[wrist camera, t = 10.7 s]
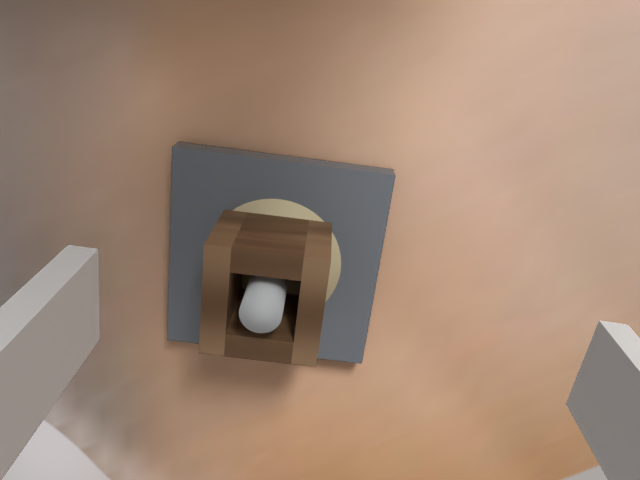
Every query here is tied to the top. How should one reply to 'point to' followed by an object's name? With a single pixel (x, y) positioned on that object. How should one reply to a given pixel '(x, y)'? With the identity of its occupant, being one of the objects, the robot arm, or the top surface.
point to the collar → (268, 261)
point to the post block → (287, 201)
